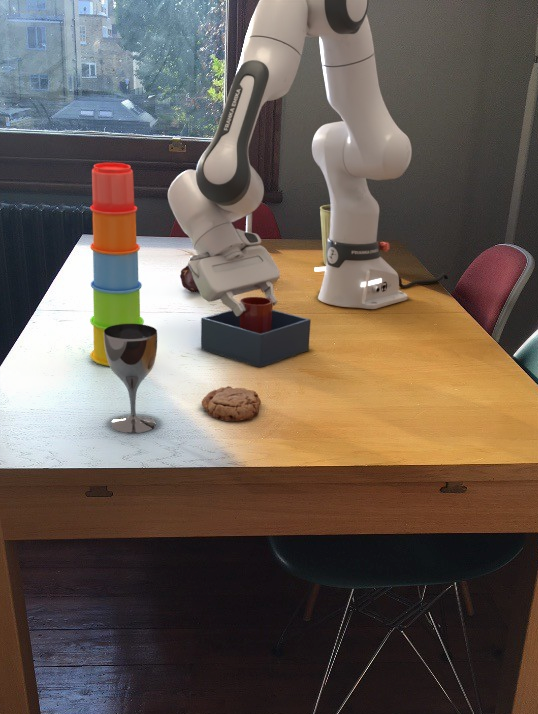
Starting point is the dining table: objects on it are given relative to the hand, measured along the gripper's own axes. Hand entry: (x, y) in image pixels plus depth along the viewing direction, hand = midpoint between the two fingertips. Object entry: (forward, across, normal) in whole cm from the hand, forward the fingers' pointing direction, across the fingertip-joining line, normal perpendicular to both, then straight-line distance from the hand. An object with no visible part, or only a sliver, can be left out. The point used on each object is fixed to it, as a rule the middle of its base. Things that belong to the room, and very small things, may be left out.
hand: (257, 309), depth 170 cm
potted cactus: (-6, +77, +41) cm, 87 cm away
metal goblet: (+14, -43, -2) cm, 45 cm away
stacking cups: (-5, -23, +16) cm, 29 cm away
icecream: (-22, +24, +34) cm, 47 cm away
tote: (+6, 0, +6) cm, 8 cm away
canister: (+5, 0, +5) cm, 7 cm away
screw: (-40, +73, +52) cm, 98 cm away
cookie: (+19, -28, -7) cm, 34 cm away
